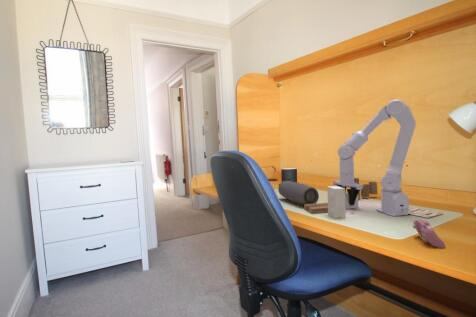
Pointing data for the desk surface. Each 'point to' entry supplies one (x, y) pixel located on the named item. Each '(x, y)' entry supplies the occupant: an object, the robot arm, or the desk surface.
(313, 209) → the base slab
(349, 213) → the cream rectangular panel
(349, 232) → the desk surface
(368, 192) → the wooden block set
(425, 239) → the pink lumpy wedge
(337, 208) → the skincare box
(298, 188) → the bluetooth speaker
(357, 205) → the brick
